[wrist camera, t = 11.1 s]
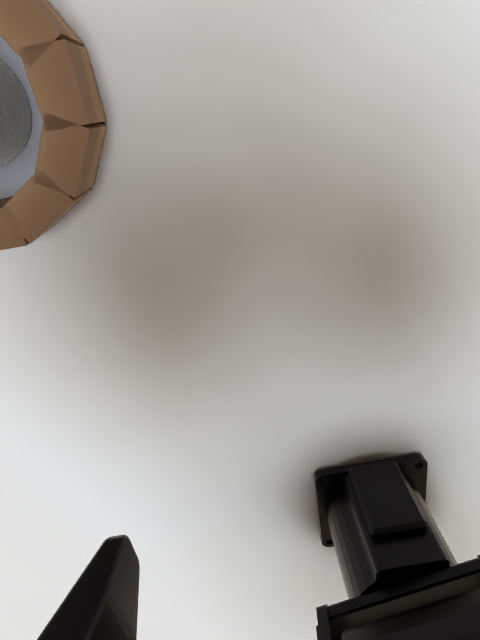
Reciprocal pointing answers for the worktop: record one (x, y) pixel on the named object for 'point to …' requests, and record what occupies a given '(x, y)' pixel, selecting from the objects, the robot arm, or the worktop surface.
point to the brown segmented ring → (52, 119)
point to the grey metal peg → (13, 115)
